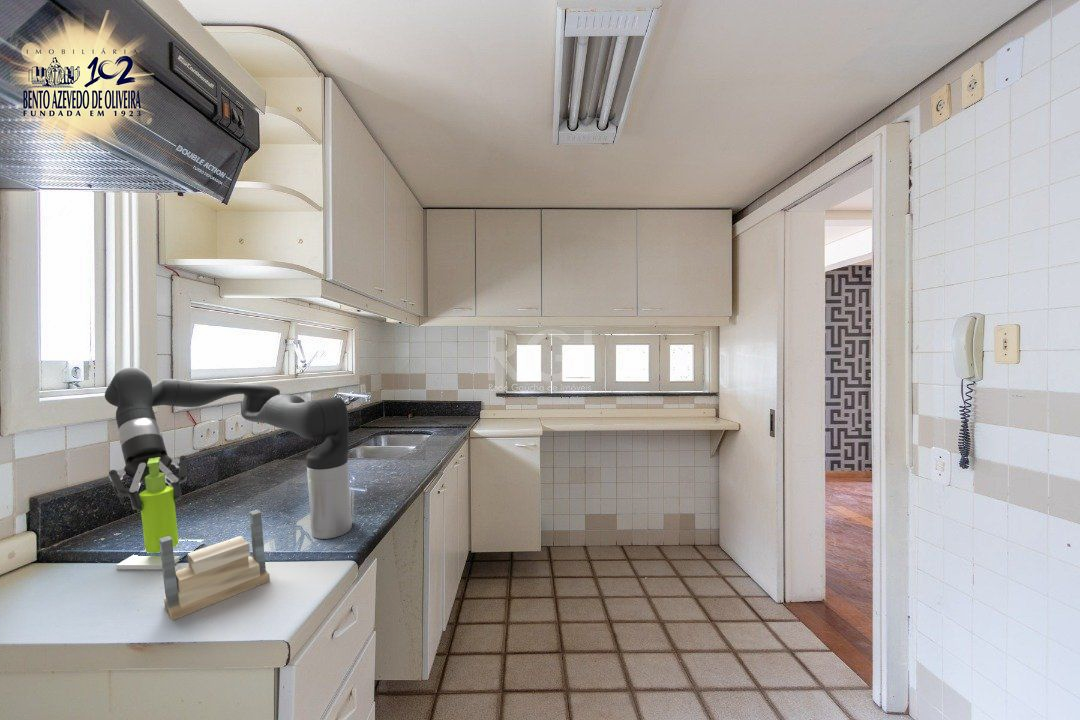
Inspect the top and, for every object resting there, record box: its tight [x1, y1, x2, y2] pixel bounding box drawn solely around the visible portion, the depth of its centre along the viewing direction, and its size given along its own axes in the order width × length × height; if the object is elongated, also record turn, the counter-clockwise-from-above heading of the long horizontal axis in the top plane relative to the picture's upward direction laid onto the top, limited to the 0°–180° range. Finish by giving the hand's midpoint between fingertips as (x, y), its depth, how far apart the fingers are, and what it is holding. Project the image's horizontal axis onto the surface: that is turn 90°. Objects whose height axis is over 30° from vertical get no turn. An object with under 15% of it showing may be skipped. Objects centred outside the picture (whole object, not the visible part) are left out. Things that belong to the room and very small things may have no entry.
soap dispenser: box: [139, 457, 180, 553], centre depth 105 cm, size 6×7×20 cm
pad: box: [115, 539, 205, 570], centre depth 106 cm, size 11×11×1 cm
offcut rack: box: [159, 509, 271, 621], centre depth 91 cm, size 6×16×14 cm, turn 139°
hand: (158, 504), depth 104 cm, fingers closed on soap dispenser, 6 cm apart
